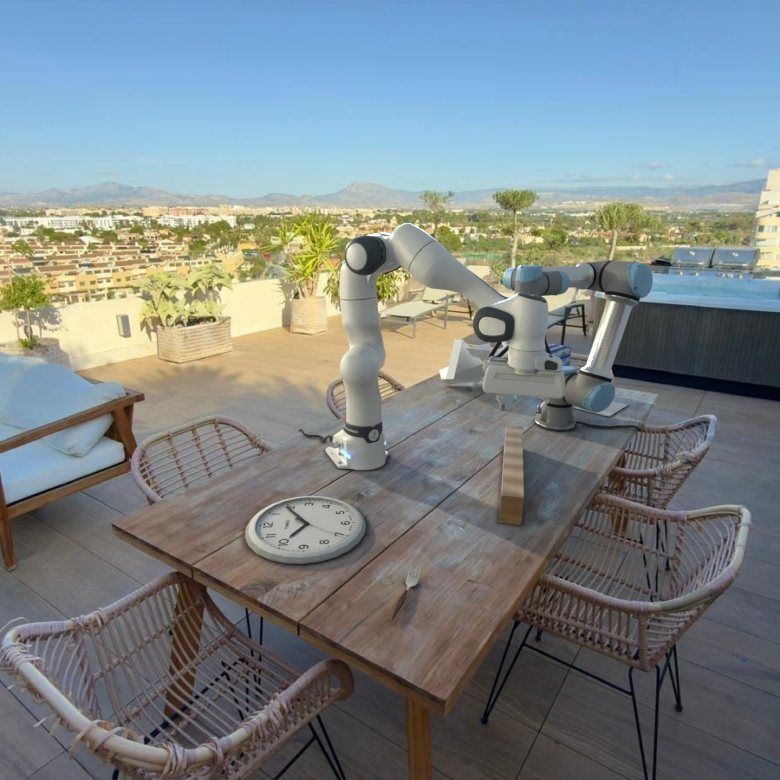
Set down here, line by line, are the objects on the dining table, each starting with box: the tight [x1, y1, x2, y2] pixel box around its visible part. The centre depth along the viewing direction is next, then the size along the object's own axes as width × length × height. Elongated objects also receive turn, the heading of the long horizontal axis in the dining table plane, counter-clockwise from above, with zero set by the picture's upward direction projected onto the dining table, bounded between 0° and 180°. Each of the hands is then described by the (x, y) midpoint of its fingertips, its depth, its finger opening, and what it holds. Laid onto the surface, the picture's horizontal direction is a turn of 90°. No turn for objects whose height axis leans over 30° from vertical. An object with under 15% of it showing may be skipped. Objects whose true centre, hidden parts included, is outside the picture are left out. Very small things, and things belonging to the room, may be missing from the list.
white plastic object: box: [438, 338, 518, 400], centre depth 245 cm, size 37×45×31 cm
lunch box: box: [545, 343, 572, 367], centre depth 248 cm, size 26×11×21 cm, turn 135°
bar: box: [498, 424, 525, 526], centre depth 158 cm, size 51×6×8 cm, turn 167°
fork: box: [391, 565, 422, 620], centre depth 108 cm, size 3×16×2 cm, turn 160°
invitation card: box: [573, 400, 629, 418], centre depth 226 cm, size 21×1×15 cm
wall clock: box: [244, 495, 367, 565], centre depth 132 cm, size 30×2×30 cm
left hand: (520, 411), depth 134 cm, fingers open, 8 cm apart
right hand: (518, 382), depth 168 cm, fingers open, 13 cm apart
